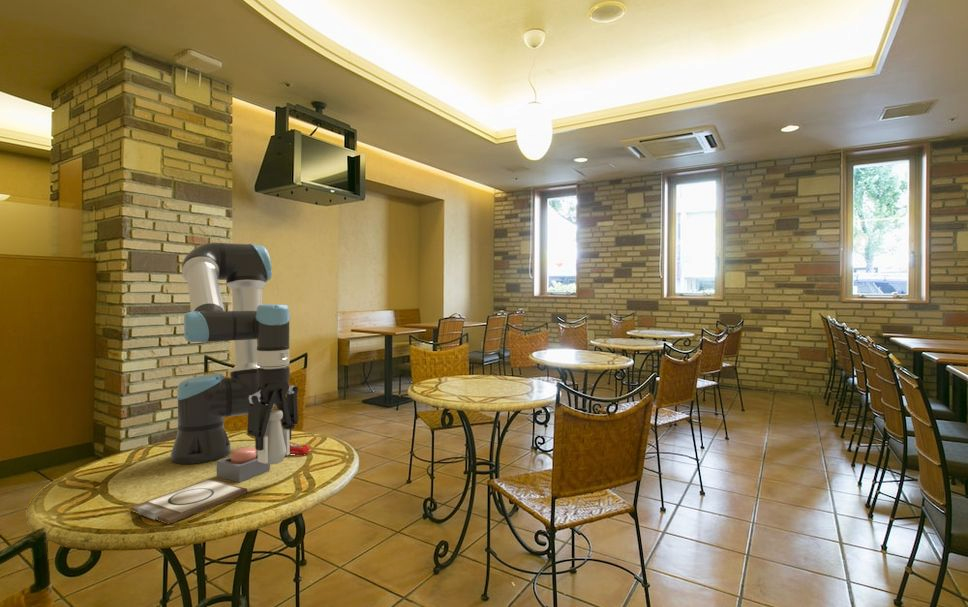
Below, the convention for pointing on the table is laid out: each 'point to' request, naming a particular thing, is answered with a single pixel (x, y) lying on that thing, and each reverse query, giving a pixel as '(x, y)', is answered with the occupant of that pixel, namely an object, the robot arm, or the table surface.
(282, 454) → the salt shaker
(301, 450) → the candy bar
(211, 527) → the table surface
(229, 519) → the table surface
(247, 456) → the button
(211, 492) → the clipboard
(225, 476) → the button housing
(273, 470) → the table surface
